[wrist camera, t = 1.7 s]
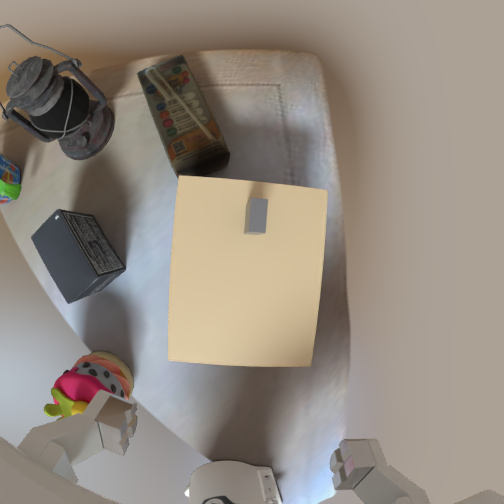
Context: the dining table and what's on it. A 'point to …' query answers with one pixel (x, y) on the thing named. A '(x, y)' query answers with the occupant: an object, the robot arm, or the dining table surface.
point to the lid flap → (245, 272)
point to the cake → (89, 383)
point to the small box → (76, 254)
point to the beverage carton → (183, 119)
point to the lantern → (59, 105)
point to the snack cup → (9, 180)
